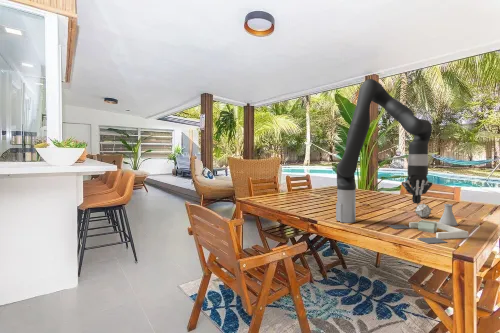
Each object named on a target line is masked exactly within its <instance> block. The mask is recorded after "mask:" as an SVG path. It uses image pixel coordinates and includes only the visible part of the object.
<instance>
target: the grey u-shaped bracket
mask: <svg viewBox="0 0 500 333" xmlns="http://www.w3.org/2000/svg"><path fill="white" fill-rule="evenodd" d="M431 221H432V220H431ZM418 222H419V221H413V222H412V221H411V222H410V221H409V222H408V223H409V224H408V227H410V229H418ZM432 222H437V229H440V230H442V231H441V232H439V231H438V232H437V231H436V232H435V237H436V238H438V239H441V240H449V239H468V238H469V231H467V230H464V229H461V228H458V227H455V226H449V225H445V224H442V223H439V221H432Z"/></svg>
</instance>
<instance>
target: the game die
mask: <svg viewBox="0 0 500 333" xmlns="http://www.w3.org/2000/svg"><path fill="white" fill-rule="evenodd" d="M432 211H433V208H431V207H430V206H429V204H425V202H422V203H419V204H416V206H415V207H414V211H413V213H415V214H416V215H417V217H420V218H421V219H423V218H430V217H429V216H430V215H432V214H433V213H432Z"/></svg>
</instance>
